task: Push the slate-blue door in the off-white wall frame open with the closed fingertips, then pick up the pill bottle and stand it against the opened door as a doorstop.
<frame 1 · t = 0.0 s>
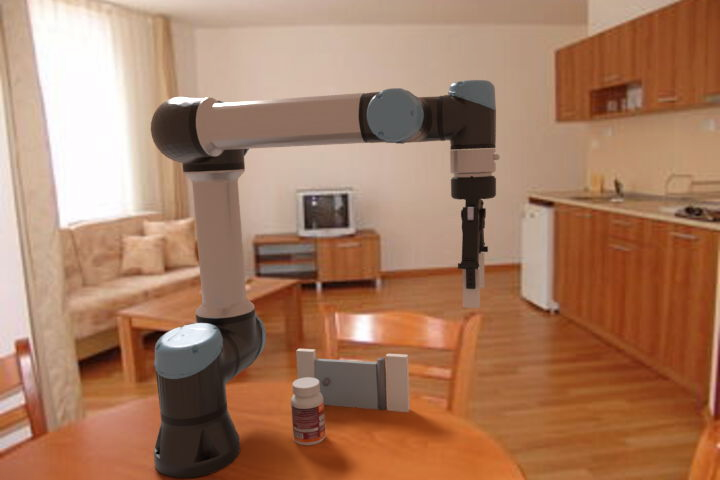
hand: (474, 296, 99), 28 cm above the table, fingers open, 13 cm apart
wall frame: (382, 408, 120), on the table
pill bottle: (309, 439, 109), on the table
door: (350, 382, 120), point 5 cm above the table, hinge at 0.0°
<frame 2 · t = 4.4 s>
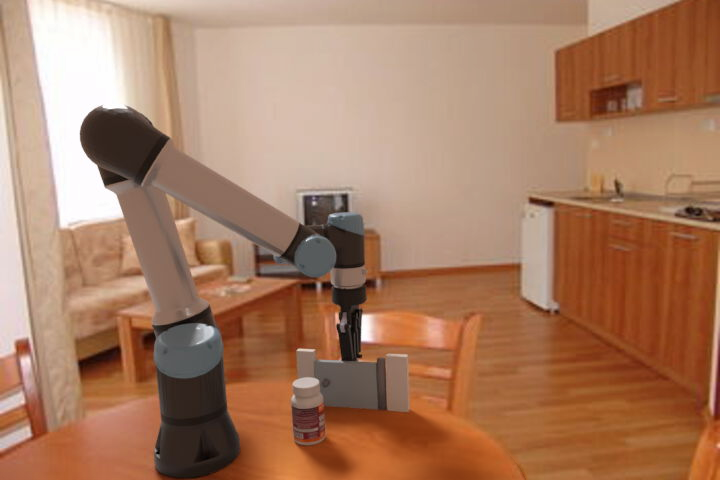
hand: (352, 387, 125), 2 cm above the table, fingers closed
door: (350, 383, 120), point 5 cm above the table, hinge at 2.3°, touching gripper, hand
everything else where it was.
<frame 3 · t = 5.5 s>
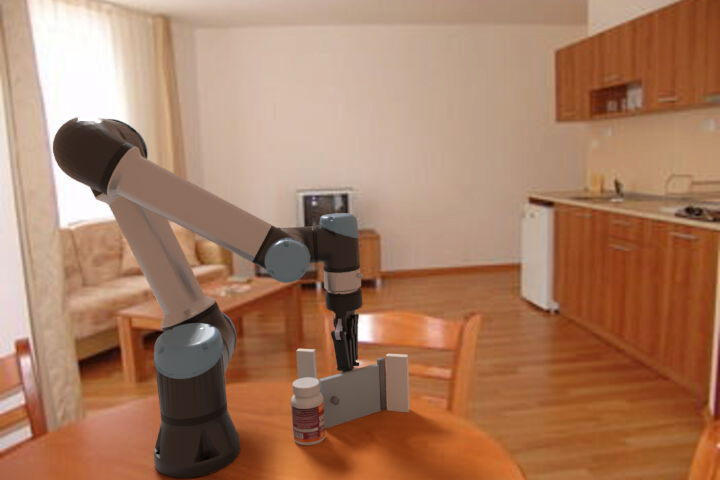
hand: (350, 397, 119), 3 cm above the table, fingers closed
door: (355, 392, 115), point 5 cm above the table, hinge at 46.9°, touching gripper, hand
everything else where it was.
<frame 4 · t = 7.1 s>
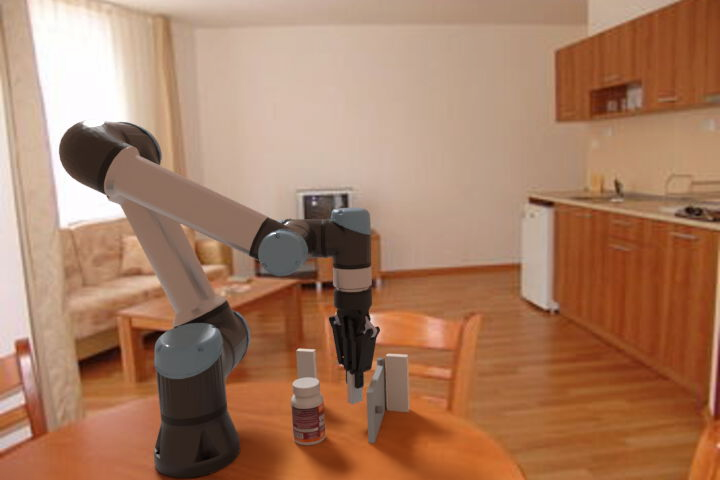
hand: (355, 401, 114), 4 cm above the table, fingers closed
door: (379, 397, 112), point 5 cm above the table, hinge at 94.7°
everything else where it was.
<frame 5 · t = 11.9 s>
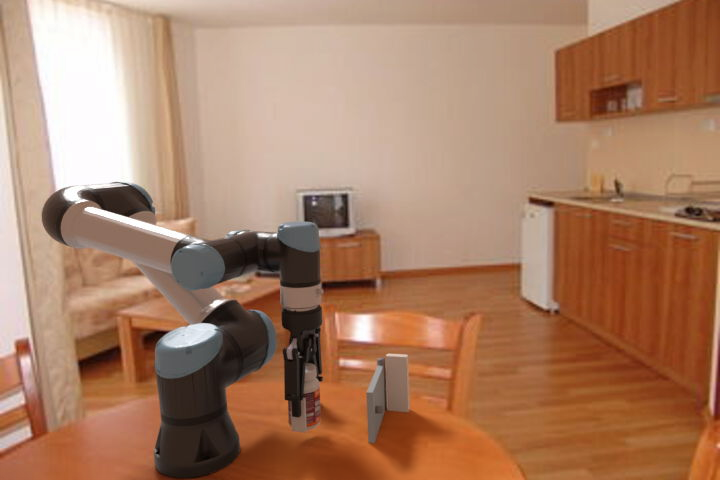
hand: (305, 421, 108), 3 cm above the table, fingers closed on pill bottle, 6 cm apart
pill bottle: (304, 424, 108), point 3 cm above the table, touching gripper
everything else where it was.
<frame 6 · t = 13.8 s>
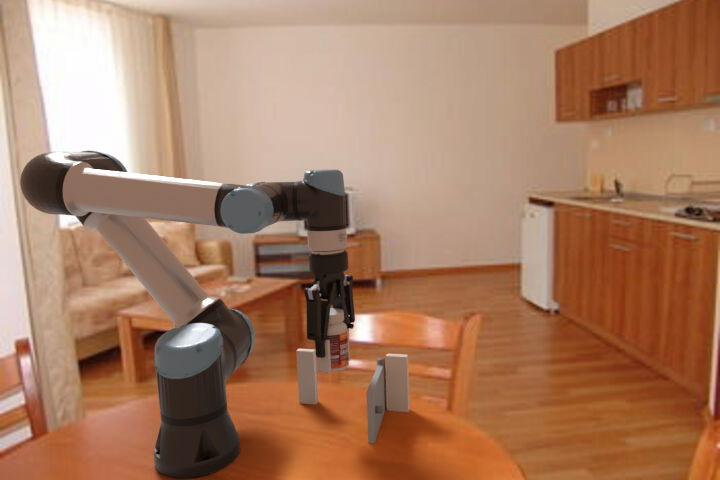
hand: (334, 365, 112), 12 cm above the table, fingers closed on pill bottle, 6 cm apart
pill bottle: (333, 367, 112), point 12 cm above the table, touching gripper
everything else where it was.
when the fingers open (1 cm above the table, at t = 16.0 s): pill bottle drops 1 cm, on the table.
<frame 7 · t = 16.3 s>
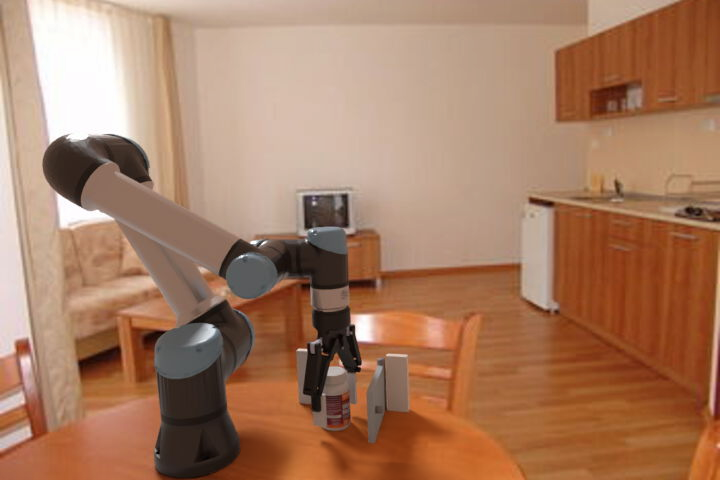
hand: (336, 413, 113), 2 cm above the table, fingers open, 10 cm apart
pill bottle: (335, 425, 114), on the table
everything else where it was.
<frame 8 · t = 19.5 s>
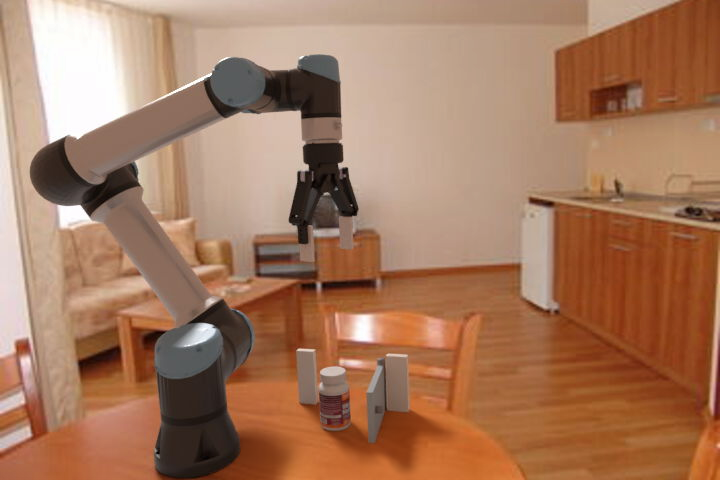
hand: (328, 254, 108), 35 cm above the table, fingers open, 13 cm apart
nothing on the table moved.
at the end: door at +95° (first picture: +0°); pill bottle inside the target area (0.2 cm from its centre), on the table; pill bottle tilted 0° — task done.
